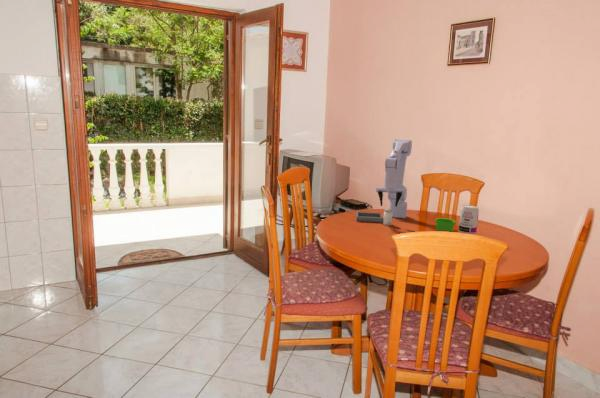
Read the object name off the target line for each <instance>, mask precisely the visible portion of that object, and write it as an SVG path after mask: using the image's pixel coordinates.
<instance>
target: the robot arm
mask: <svg viewBox="0 0 600 398" xmlns="http://www.w3.org/2000/svg"><path fill="white" fill-rule="evenodd" d="M412 144H413V141H412V139H396V138H394V139H393V141H392V149H393V150H392V151H391V152H390V154H389V156H388V157H386V158H385V160H384V167H385V168H384V171H385V177H384V187H375V192H376V193H377V194H378V198H379V203H380V206H381V207H382V206H383V199H384V193H387V199H388V200H389V202H390V203H389V209H392V218H396V219H397V218H398V219H406V218H407V209H408V202H407V201H406V200H407V197H408V195H407V194H408V193H407V191H408V188H407V187H406V186H405V185H404V177H405V171H406V162H407V158H408V157H409V156H411V153H412V148H413V145H412Z"/></svg>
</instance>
